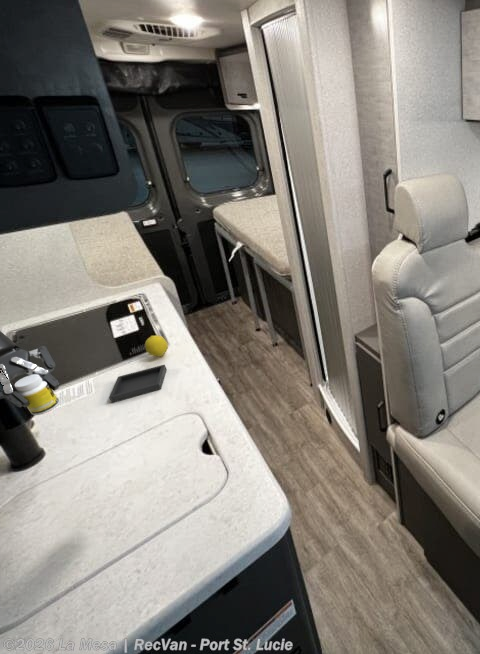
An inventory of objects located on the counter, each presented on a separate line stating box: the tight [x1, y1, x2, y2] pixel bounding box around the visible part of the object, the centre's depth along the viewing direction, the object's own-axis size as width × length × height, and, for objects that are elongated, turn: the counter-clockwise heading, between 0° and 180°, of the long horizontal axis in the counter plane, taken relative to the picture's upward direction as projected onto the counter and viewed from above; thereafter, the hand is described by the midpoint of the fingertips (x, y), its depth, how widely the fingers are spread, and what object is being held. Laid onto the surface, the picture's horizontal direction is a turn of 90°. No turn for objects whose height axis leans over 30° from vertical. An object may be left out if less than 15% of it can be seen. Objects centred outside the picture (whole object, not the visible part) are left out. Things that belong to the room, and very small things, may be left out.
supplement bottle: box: [14, 374, 60, 416], centre depth 87 cm, size 5×5×8 cm
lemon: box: [144, 335, 169, 357], centre depth 123 cm, size 6×6×8 cm
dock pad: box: [108, 364, 168, 404], centre depth 113 cm, size 12×10×2 cm
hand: (42, 396), depth 87 cm, fingers closed on supplement bottle, 4 cm apart
